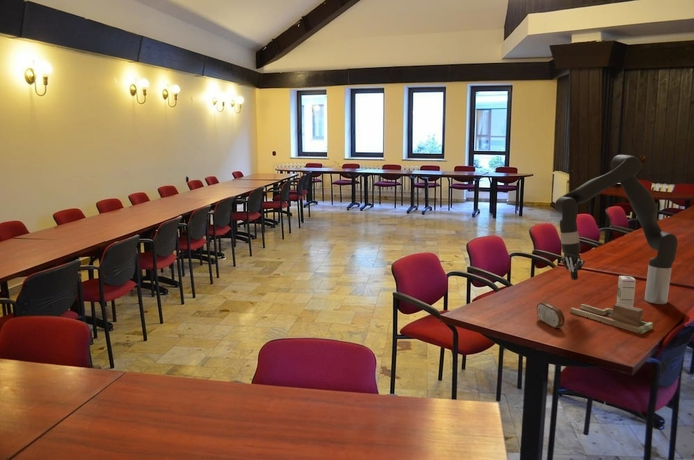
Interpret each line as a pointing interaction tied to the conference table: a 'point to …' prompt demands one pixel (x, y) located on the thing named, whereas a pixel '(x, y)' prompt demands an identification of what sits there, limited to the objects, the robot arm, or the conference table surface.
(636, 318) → the block
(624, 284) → the syrup box
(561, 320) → the tin
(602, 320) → the lane
